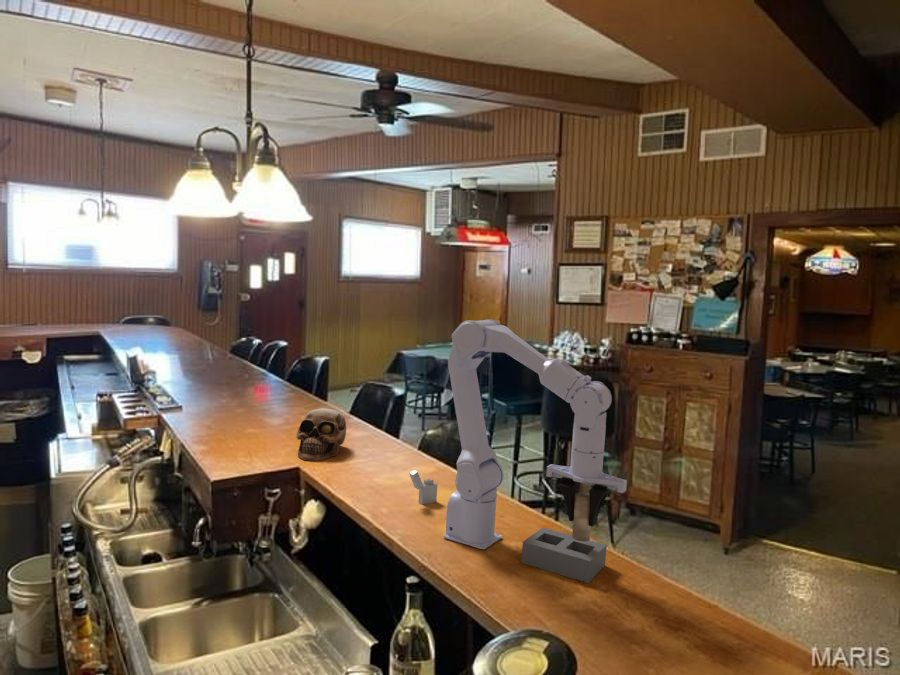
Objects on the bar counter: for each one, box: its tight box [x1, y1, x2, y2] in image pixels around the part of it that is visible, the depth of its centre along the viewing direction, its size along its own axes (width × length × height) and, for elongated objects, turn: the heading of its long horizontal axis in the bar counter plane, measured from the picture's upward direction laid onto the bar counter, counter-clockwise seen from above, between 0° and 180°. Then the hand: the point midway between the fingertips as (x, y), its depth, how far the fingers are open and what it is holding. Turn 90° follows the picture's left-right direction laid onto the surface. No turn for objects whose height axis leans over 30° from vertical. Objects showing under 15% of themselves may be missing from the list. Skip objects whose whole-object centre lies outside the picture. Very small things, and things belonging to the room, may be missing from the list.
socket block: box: [520, 527, 608, 584], centre depth 121 cm, size 13×9×4 cm
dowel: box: [571, 491, 592, 541], centre depth 118 cm, size 3×3×8 cm
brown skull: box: [296, 407, 347, 462], centre depth 187 cm, size 16×17×13 cm
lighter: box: [408, 469, 438, 505], centre depth 149 cm, size 7×2×8 cm, turn 127°
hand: (582, 522), depth 118 cm, fingers closed on dowel, 3 cm apart
